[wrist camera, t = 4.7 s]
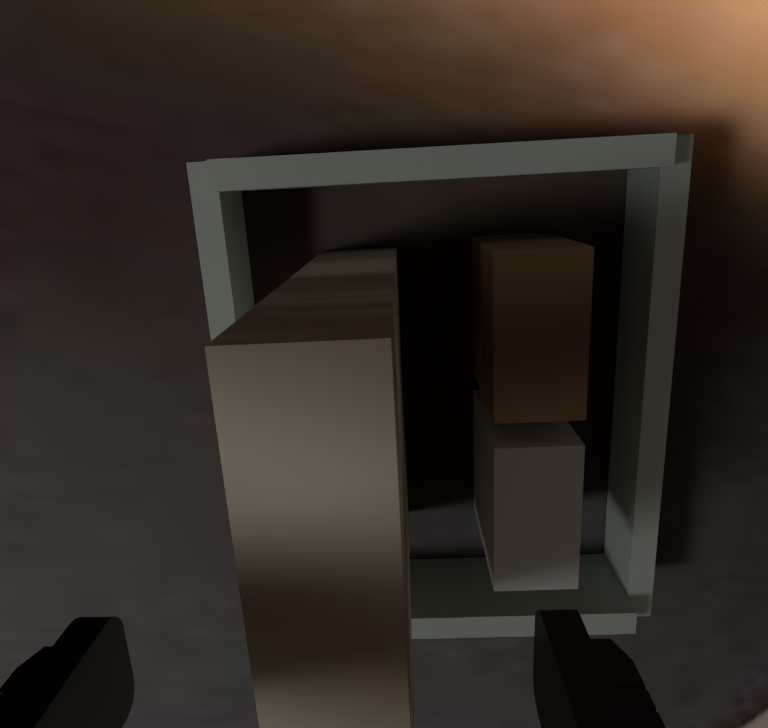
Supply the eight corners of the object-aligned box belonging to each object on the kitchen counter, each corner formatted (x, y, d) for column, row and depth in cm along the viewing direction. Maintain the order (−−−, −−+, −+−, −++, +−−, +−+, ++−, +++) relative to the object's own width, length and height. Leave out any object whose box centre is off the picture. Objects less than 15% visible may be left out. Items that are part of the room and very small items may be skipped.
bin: (212, 166, 23) (175, 161, 19) (656, 141, 22) (709, 130, 18) (266, 581, 28) (245, 642, 24) (624, 571, 28) (660, 633, 24)
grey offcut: (472, 389, 25) (494, 448, 20) (542, 387, 25) (585, 445, 20) (473, 505, 27) (493, 591, 21) (539, 503, 27) (578, 588, 21)
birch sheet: (322, 251, 24) (204, 346, 9) (396, 247, 24) (390, 338, 9) (343, 513, 27) (280, 876, 13) (408, 511, 27) (418, 876, 13)
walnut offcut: (471, 236, 24) (493, 251, 18) (546, 232, 23) (594, 246, 18) (472, 370, 25) (493, 423, 19) (543, 366, 25) (586, 420, 19)
